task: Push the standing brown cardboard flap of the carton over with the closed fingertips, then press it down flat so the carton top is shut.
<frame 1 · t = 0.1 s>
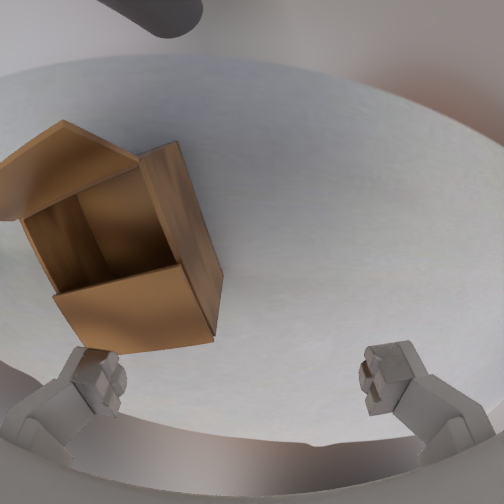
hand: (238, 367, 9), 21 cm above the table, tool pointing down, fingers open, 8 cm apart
carton: (144, 229, 30), on the table
flap: (27, 186, 14), point 13 cm above the table, hinge at 115.0°
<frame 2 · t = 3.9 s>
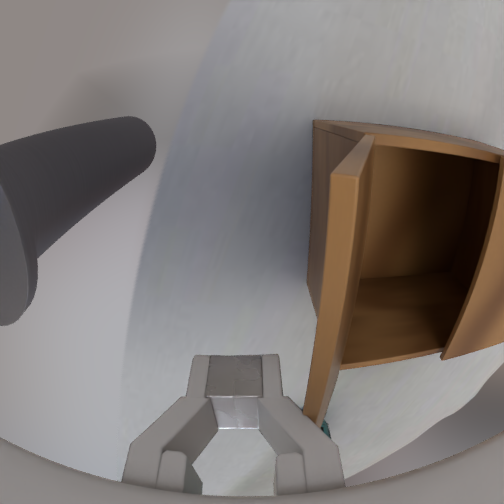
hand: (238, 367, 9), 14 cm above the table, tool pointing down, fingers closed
carton: (400, 208, 21), on the table
flap: (337, 344, 10), point 13 cm above the table, hinge at 115.4°, touching gripper
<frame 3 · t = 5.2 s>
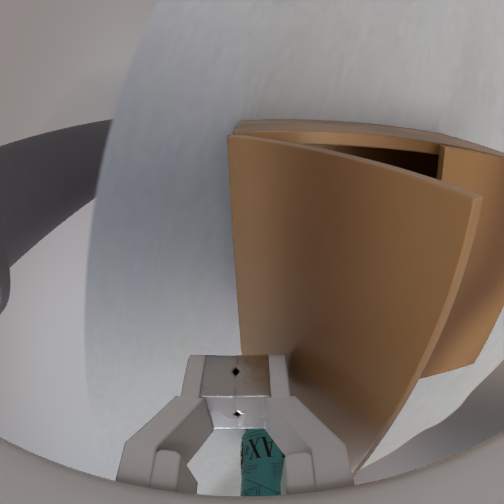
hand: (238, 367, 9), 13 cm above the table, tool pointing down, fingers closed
carton: (348, 212, 21), on the table
flap: (295, 367, 9), point 13 cm above the table, hinge at 62.3°, touching gripper
beverage bottle: (265, 425, 34), on the table
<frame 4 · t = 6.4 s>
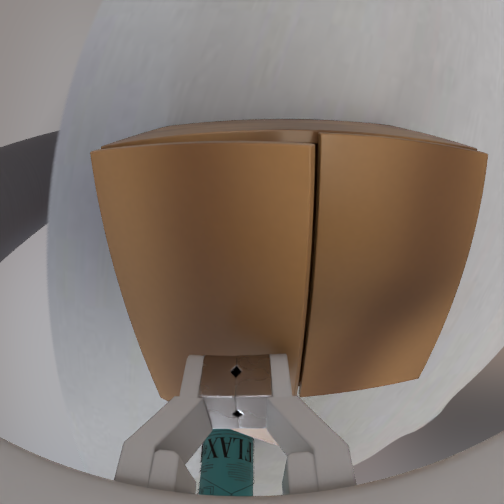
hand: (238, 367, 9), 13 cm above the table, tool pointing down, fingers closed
carton: (282, 213, 21), on the table
flap: (200, 332, 10), point 12 cm above the table, hinge at 25.2°
beverage bottle: (228, 425, 34), on the table
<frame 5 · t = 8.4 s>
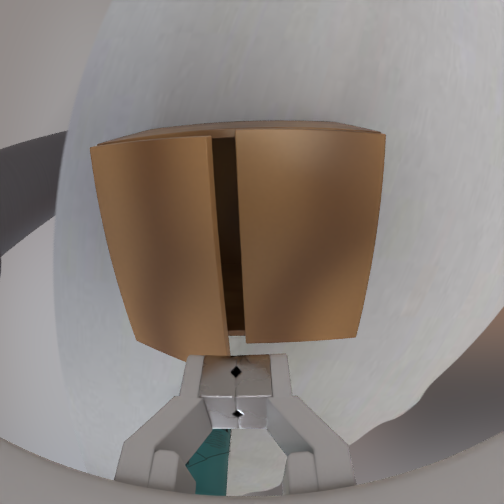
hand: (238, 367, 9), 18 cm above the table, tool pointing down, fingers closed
carton: (244, 198, 25), on the table
flap: (158, 269, 15), point 12 cm above the table, hinge at 23.8°
beverage bottle: (210, 399, 38), on the table
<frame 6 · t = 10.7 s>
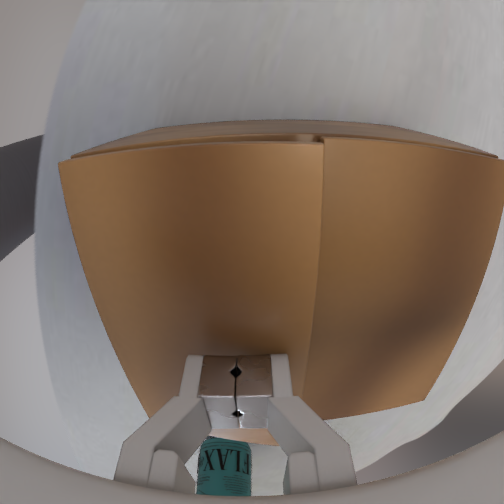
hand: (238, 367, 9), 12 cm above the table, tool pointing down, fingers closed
carton: (280, 221, 19), on the table
flap: (196, 347, 10), point 11 cm above the table, hinge at 11.2°
beverage bottle: (225, 436, 32), on the table
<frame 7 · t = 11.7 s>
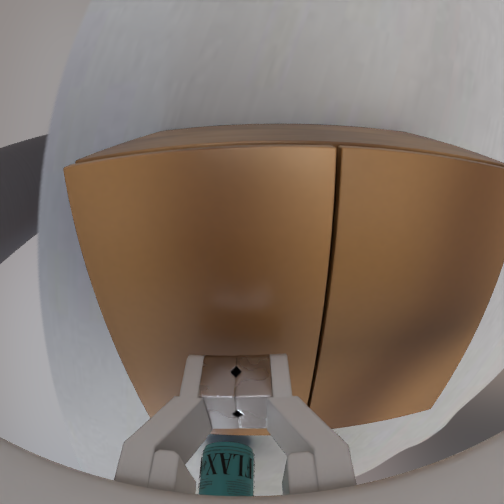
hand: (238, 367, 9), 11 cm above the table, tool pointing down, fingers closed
carton: (289, 227, 19), on the table
flap: (209, 345, 10), point 10 cm above the table, hinge at 0.8°
beverage bottle: (228, 440, 32), on the table
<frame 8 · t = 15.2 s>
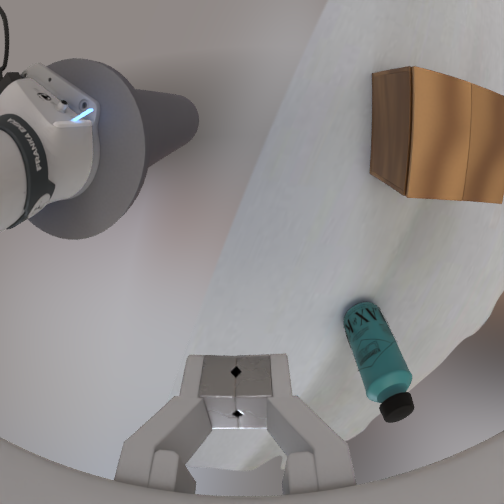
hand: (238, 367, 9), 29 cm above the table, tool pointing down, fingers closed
carton: (421, 129, 32), on the table
flap: (442, 136, 23), point 10 cm above the table, hinge at 0.8°
beverage bottle: (358, 310, 45), on the table
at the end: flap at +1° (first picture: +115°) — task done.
